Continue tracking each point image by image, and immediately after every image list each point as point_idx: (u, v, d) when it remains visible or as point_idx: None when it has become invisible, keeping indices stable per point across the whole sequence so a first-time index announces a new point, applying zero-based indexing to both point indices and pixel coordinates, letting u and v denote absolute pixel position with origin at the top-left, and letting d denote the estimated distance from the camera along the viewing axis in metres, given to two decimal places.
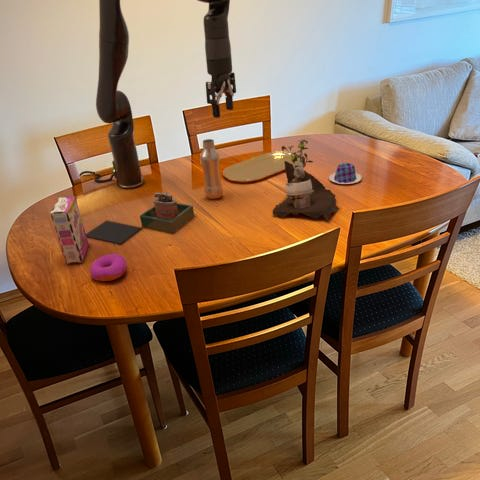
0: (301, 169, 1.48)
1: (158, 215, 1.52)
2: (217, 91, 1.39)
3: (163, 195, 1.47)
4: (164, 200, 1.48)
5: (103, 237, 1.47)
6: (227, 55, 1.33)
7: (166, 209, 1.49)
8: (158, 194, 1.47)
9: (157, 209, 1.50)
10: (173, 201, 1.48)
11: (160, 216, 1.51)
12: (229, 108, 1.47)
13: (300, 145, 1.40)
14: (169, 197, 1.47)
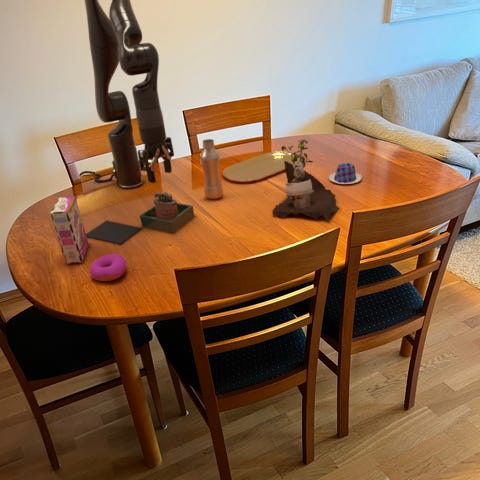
0: (301, 169, 1.48)
1: (158, 215, 1.52)
2: (151, 158, 1.38)
3: (163, 195, 1.47)
4: (164, 200, 1.48)
5: (103, 237, 1.47)
6: (158, 124, 1.31)
7: (166, 209, 1.49)
8: (158, 194, 1.47)
9: (157, 209, 1.50)
10: (173, 201, 1.48)
11: (160, 216, 1.51)
12: (167, 171, 1.46)
13: (300, 145, 1.40)
14: (169, 197, 1.47)
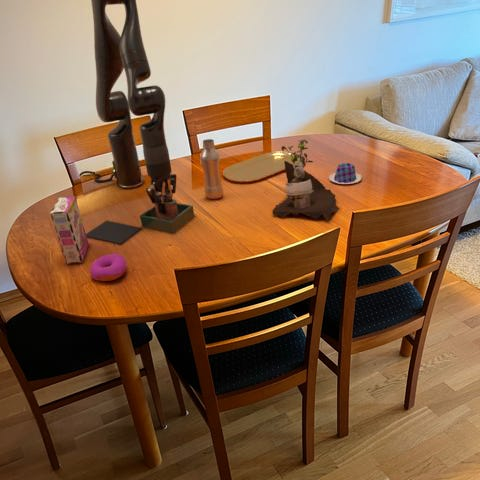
0: (301, 169, 1.48)
1: (158, 215, 1.52)
2: (157, 190, 1.44)
3: None
4: (164, 200, 1.48)
5: (103, 237, 1.47)
6: (164, 160, 1.38)
7: (166, 209, 1.49)
8: None
9: (157, 209, 1.50)
10: (173, 201, 1.48)
11: (160, 216, 1.51)
12: None
13: (300, 145, 1.40)
14: (169, 197, 1.47)
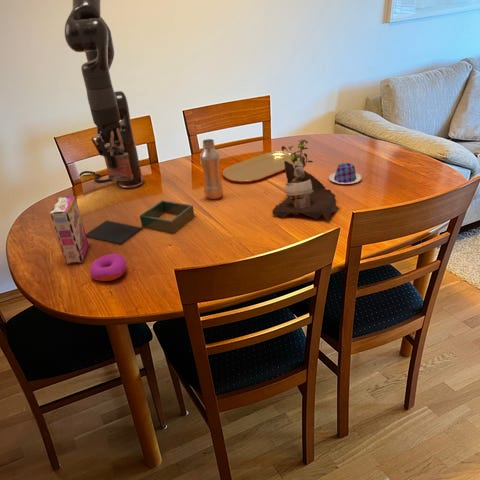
0: (301, 169, 1.48)
1: (109, 171, 1.39)
2: (105, 141, 1.31)
3: None
4: (114, 153, 1.35)
5: (103, 237, 1.47)
6: (111, 105, 1.25)
7: (117, 164, 1.36)
8: None
9: (107, 164, 1.37)
10: (124, 154, 1.35)
11: (111, 171, 1.38)
12: None
13: (300, 145, 1.40)
14: (119, 149, 1.34)
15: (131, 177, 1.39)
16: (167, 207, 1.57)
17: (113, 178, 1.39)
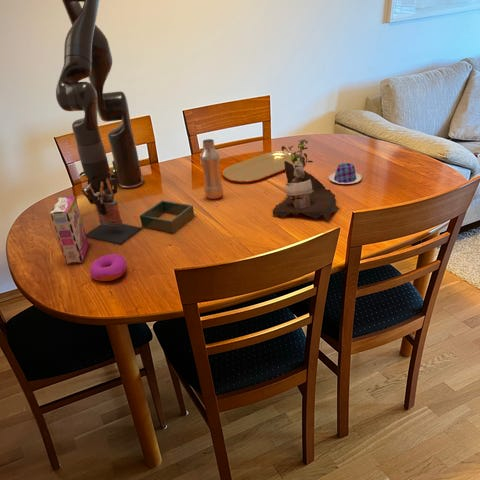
0: (301, 169, 1.48)
1: (99, 216, 1.46)
2: (95, 190, 1.38)
3: None
4: (104, 200, 1.42)
5: (103, 237, 1.47)
6: (100, 159, 1.32)
7: (107, 210, 1.43)
8: None
9: None
10: (113, 201, 1.42)
11: (101, 217, 1.46)
12: None
13: (300, 145, 1.40)
14: (109, 197, 1.41)
15: (120, 222, 1.46)
16: (167, 207, 1.57)
17: (103, 223, 1.47)
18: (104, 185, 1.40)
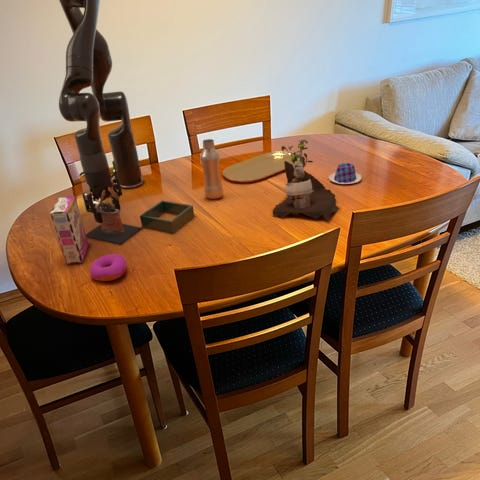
0: (301, 169, 1.48)
1: (102, 225, 1.48)
2: (97, 199, 1.40)
3: (105, 205, 1.43)
4: (107, 210, 1.44)
5: (103, 237, 1.47)
6: (102, 168, 1.34)
7: (109, 219, 1.45)
8: None
9: None
10: (116, 211, 1.44)
11: (104, 225, 1.48)
12: None
13: (300, 145, 1.40)
14: (111, 207, 1.43)
15: (122, 231, 1.48)
16: (167, 207, 1.57)
17: (106, 231, 1.49)
18: (106, 193, 1.41)
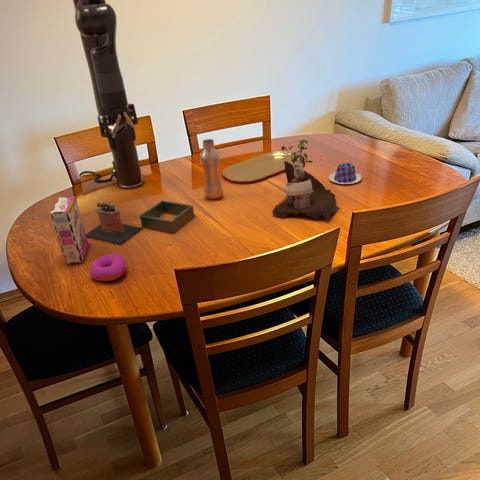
0: (301, 169, 1.48)
1: (102, 225, 1.48)
2: (113, 124, 1.36)
3: (105, 205, 1.43)
4: (107, 210, 1.44)
5: (103, 237, 1.47)
6: (118, 89, 1.30)
7: (109, 219, 1.45)
8: (100, 204, 1.44)
9: (100, 219, 1.47)
10: (116, 211, 1.44)
11: (104, 225, 1.48)
12: (131, 139, 1.44)
13: (300, 145, 1.40)
14: (111, 207, 1.43)
15: (122, 231, 1.48)
16: (167, 207, 1.57)
17: (106, 231, 1.49)
18: (121, 119, 1.37)
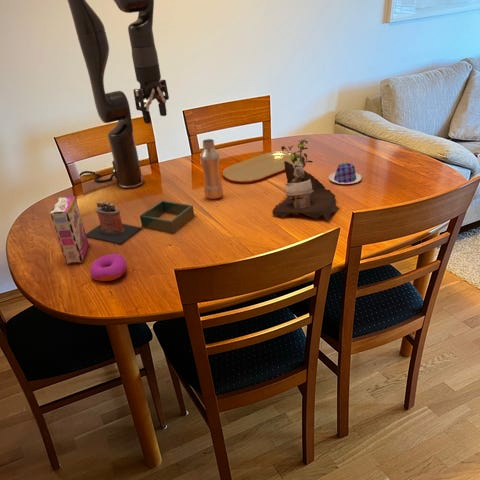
0: (301, 169, 1.48)
1: (102, 225, 1.48)
2: (147, 98, 1.42)
3: (105, 205, 1.43)
4: (107, 210, 1.44)
5: (103, 237, 1.47)
6: (153, 63, 1.36)
7: (109, 219, 1.45)
8: (100, 204, 1.44)
9: (100, 219, 1.47)
10: (116, 211, 1.44)
11: (104, 225, 1.48)
12: (162, 114, 1.51)
13: (300, 145, 1.40)
14: (111, 207, 1.43)
15: (122, 231, 1.48)
16: (167, 207, 1.57)
17: (106, 231, 1.49)
18: (155, 93, 1.44)
